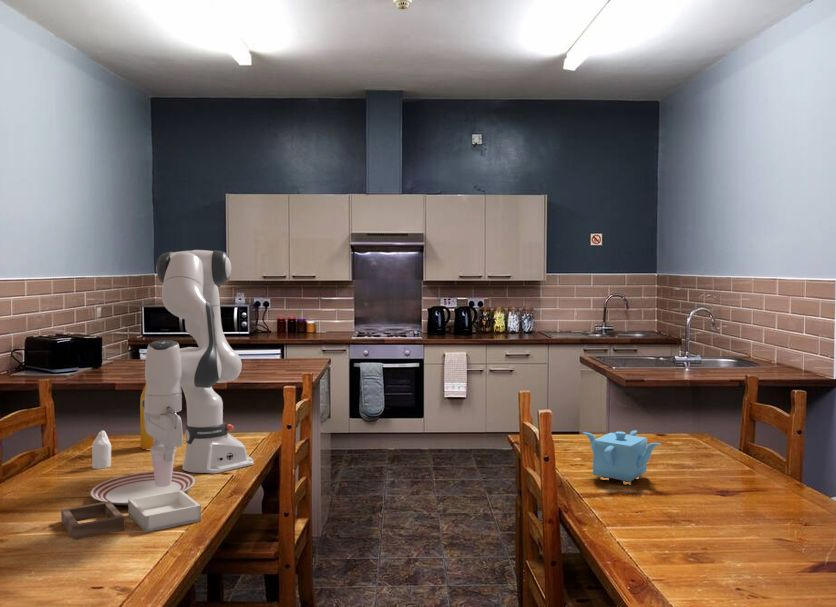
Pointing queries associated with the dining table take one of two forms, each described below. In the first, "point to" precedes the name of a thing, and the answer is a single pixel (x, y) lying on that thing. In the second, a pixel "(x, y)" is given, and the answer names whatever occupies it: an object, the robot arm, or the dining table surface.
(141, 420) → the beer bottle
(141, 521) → the tray
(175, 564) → the dining table surface
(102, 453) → the white tapered bottle
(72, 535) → the socket block
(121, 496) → the dinner plate
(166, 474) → the smoothie
